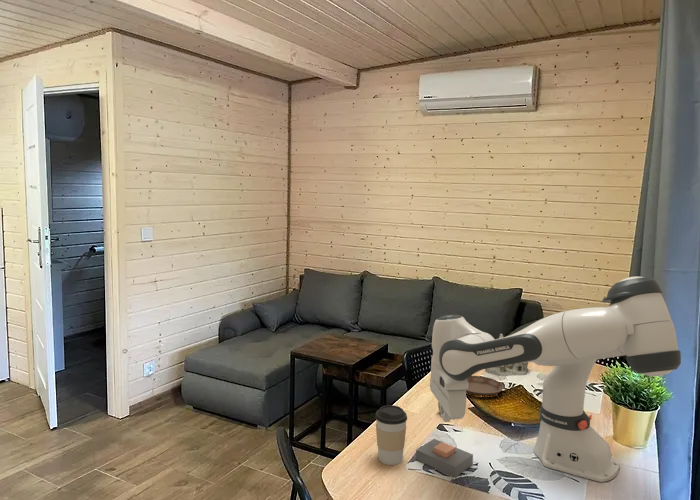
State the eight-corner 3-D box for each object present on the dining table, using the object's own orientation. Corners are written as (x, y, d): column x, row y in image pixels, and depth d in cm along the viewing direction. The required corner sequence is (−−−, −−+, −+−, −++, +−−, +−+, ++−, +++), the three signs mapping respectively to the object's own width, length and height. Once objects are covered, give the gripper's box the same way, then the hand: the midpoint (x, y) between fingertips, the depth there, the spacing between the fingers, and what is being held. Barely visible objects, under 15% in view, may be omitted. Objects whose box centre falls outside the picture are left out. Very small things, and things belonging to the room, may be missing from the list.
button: (455, 458, 146) (455, 447, 145) (446, 464, 142) (446, 453, 142) (441, 452, 149) (442, 441, 148) (433, 458, 145) (433, 447, 145)
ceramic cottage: (479, 370, 218) (483, 336, 216) (500, 362, 229) (504, 330, 227) (512, 382, 207) (517, 347, 205) (532, 374, 218) (537, 340, 216)
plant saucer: (476, 379, 209) (477, 371, 209) (512, 393, 194) (513, 386, 194) (445, 388, 199) (445, 381, 199) (480, 404, 185) (481, 396, 184)
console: (472, 464, 144) (473, 454, 144) (455, 477, 138) (455, 467, 138) (433, 448, 153) (434, 438, 153) (415, 459, 147) (416, 449, 146)
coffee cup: (386, 447, 154) (387, 399, 152) (412, 457, 148) (413, 407, 146) (368, 459, 147) (368, 409, 145) (394, 470, 141) (395, 418, 139)
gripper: (425, 359, 152) (424, 404, 154) (447, 386, 132) (445, 437, 133) (446, 359, 153) (444, 403, 154) (471, 385, 133) (468, 436, 134)
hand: (445, 419), depth 144 cm, fingers closed
